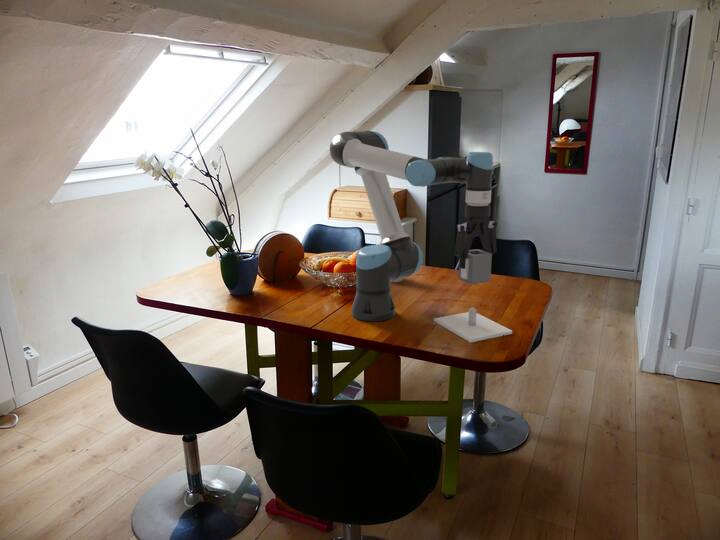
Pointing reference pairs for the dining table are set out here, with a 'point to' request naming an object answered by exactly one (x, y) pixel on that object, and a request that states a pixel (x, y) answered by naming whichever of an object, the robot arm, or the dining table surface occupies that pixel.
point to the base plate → (472, 326)
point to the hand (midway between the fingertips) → (474, 276)
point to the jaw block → (478, 267)
